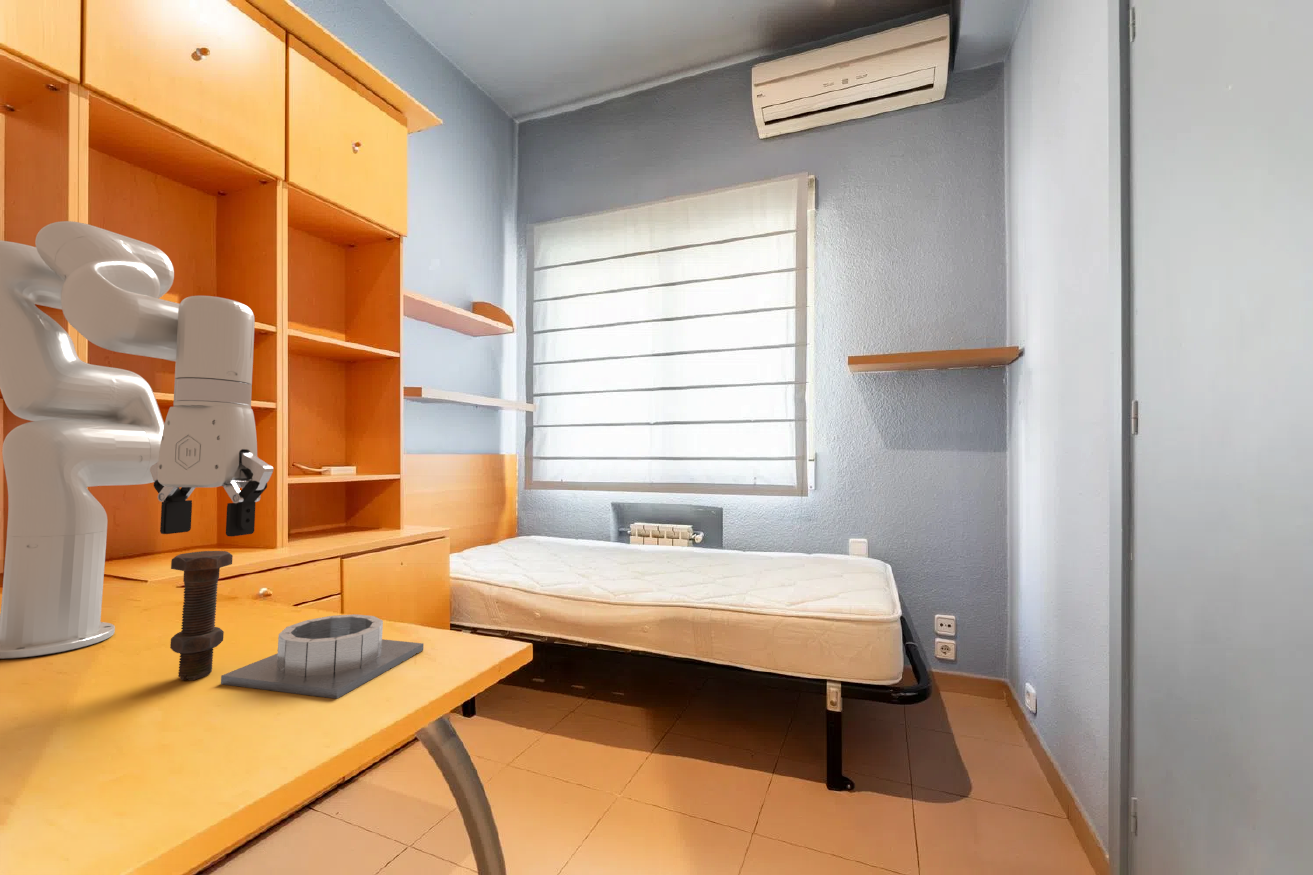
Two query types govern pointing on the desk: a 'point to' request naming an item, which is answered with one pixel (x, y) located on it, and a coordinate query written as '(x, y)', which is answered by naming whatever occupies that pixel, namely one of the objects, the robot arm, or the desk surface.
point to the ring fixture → (325, 657)
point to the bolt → (198, 611)
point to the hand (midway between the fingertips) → (207, 533)
